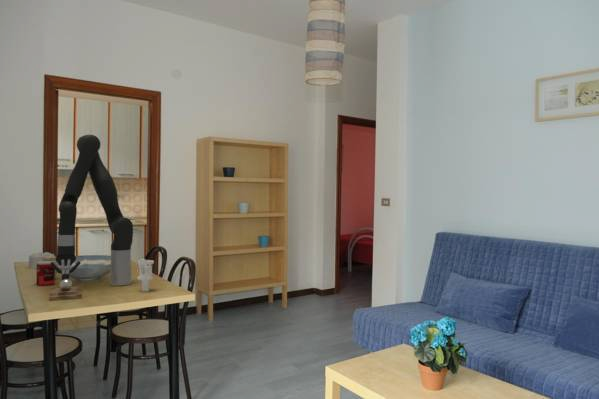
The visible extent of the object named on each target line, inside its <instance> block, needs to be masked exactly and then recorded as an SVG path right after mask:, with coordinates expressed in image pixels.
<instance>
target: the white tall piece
mask: <svg viewBox="0 0 599 399" xmlns="http://www.w3.org/2000/svg"><path fill="white" fill-rule="evenodd" d="M154 262H155V261H154V260H151V259H145V258H141V259H138V261H137V265H138V268H139V270H138V274H139V275H138V276H137V280H138V281H141V292H145V293H146V292H149V290H150V285H149V284H150V281H151V280H154V275H152V274H153V266H152V265H154Z"/></svg>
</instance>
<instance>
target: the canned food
mask: <svg viewBox="0 0 599 399" xmlns="http://www.w3.org/2000/svg"><path fill="white" fill-rule="evenodd" d="M51 262H53V261H41V262H37V269H36V286H38V287H47V286H48V287H50V286H54V285H55V283H56V281H55V280H56V279H55V269H54V268H53V267H52V265H51Z"/></svg>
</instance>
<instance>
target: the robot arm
mask: <svg viewBox="0 0 599 399" xmlns="http://www.w3.org/2000/svg"><path fill="white" fill-rule="evenodd" d="M76 148H77V151H78V157H77V160H76V163H75V165H74V167H73V169H72V171H71V173H70V175H69V177H68V180H67V183H66V186H65V190H64V193H63V196H62V197H61V200H60V203H59V204H58V212H59V223H58V228H57V229H58V231H57V241H56V260H54V261H53V262H51V265H52V267H53V268H54V269H55V270H56V271H57V274H61V281H62V280H63V279H69V278H70V274H72V273H73V272H74V271H75V270H76V269H77V268H78V267H79V266H80V265H81V261H80V260H78V259H77V257H76V245H77V242H76V220H77V212H78V210H77V204H78V200H79V198H81V195H82V194H83V189H84V186H85V183H86V181H87V177H88V174H89V177H90V180H91V183H92V186H93V188H94V191H95V193H96V195H97V197H98V200H99V202H100V204H101V207H102V209H103V211H104V214H105V217H106V221H107V225H108V228H109V230H110V232H111V233H112V234H113V240H112V243H111V244H110V281H109V282H110V286H114V287H115V286H117V287H119V286H121V287H123V286H128V285H132V265H131V263H132V262H131V261H132V260H131V259H132V258H131V257H132V256H131V254H132V244H133V237H134V225H133V222H132V221H131V219H130V218H128V217H125V216H124V214H123V213H122V210H121V208H120V205H119V199H118V198H119V196H118V190H117V187H116V184H115V181H114V179H113V177H112V175H111V174H110V172H109V170H108V169H107V167H106V166H105V165H104V162H103V161H102V159H101V156H100V152H99V151H100V149H101V141H100V139H99V138H98V136H96V135H94V134H85V135H82V136H80V137H78V139H77V140H76ZM56 262H57V263H56ZM73 264H74V266H72V265H73ZM56 265H57V266H56ZM58 265H59V266H60V267H61V269H60V268H59V267H58ZM71 266H72V268H71V269H70V267H71ZM69 280H70V279H69Z"/></svg>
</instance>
